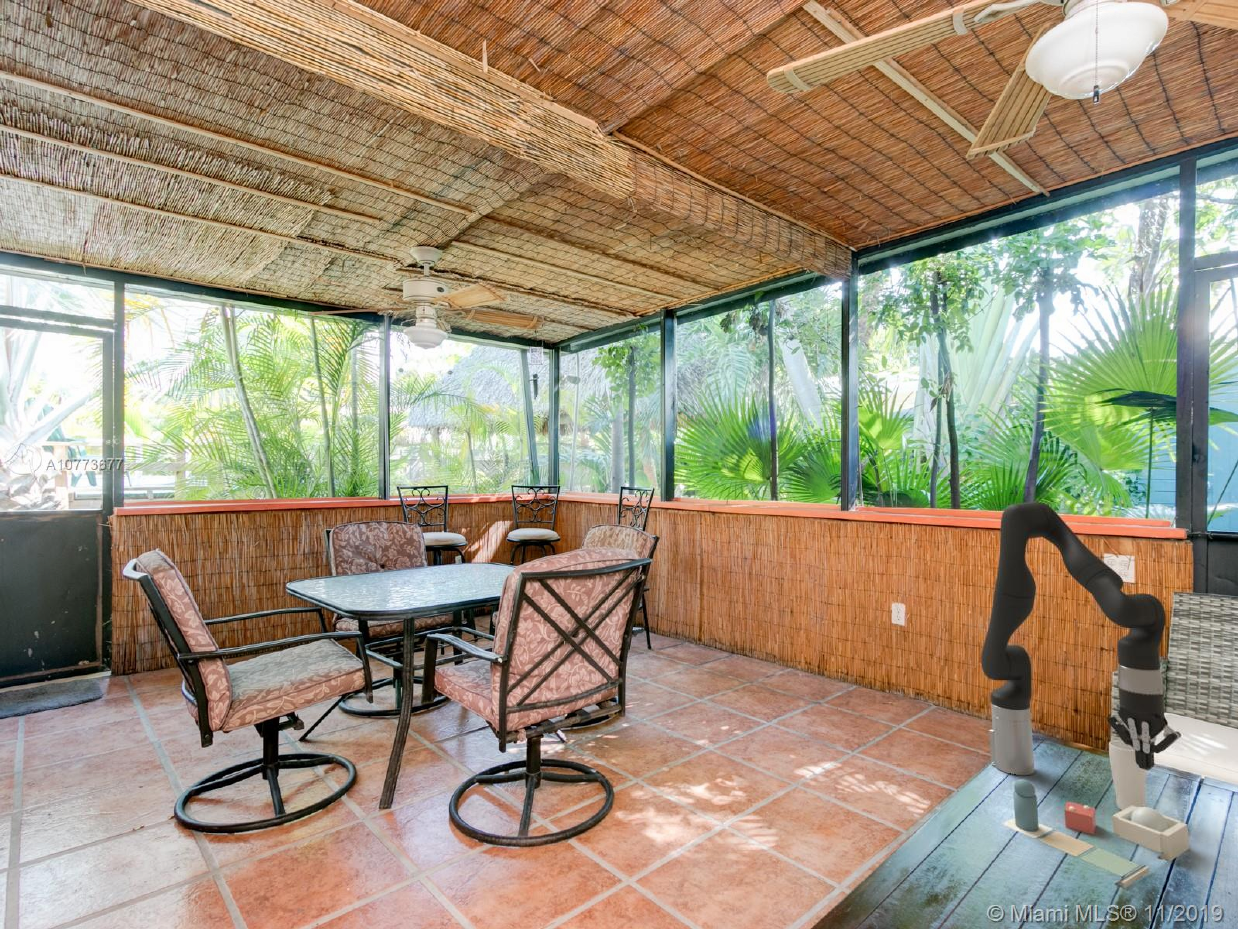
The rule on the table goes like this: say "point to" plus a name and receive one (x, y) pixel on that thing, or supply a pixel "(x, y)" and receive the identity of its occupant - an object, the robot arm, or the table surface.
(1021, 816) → the slate blue cylinder
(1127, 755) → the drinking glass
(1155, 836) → the dome collar
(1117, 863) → the game board
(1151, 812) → the pale grey egg
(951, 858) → the table surface
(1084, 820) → the red die
